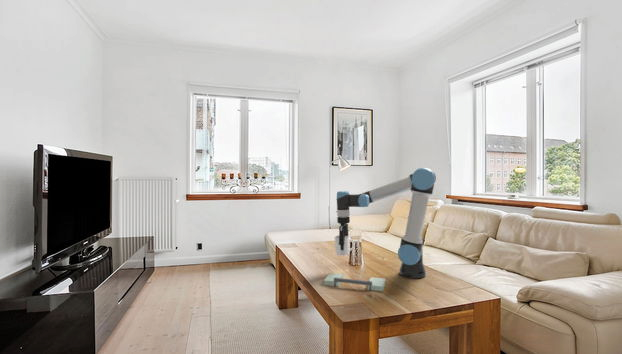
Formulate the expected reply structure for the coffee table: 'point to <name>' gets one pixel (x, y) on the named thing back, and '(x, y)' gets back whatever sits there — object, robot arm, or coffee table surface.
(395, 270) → the coffee table surface
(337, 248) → the mug
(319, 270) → the coffee table surface
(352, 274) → the coffee table surface
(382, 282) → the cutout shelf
